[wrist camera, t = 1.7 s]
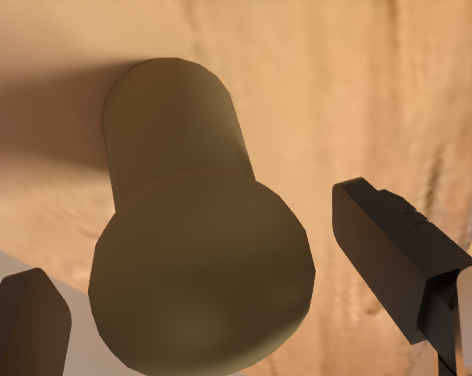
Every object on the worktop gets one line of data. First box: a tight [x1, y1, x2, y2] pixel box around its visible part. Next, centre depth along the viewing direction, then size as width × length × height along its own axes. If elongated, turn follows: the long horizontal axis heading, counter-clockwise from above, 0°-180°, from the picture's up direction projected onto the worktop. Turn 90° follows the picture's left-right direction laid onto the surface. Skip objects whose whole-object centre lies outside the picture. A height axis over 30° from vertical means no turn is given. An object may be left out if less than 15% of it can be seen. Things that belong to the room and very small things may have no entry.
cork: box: [88, 58, 316, 376], centre depth 11 cm, size 6×6×11 cm
